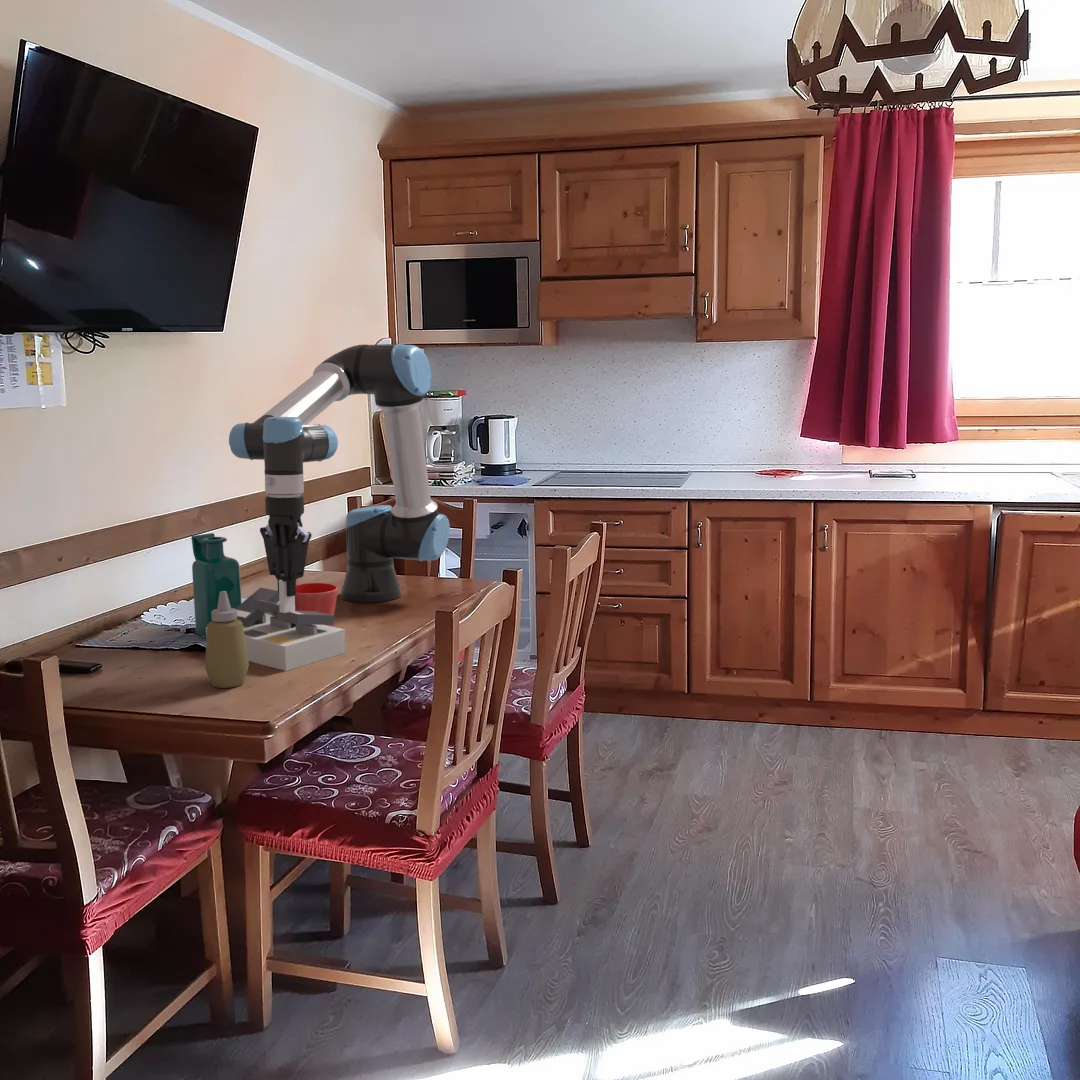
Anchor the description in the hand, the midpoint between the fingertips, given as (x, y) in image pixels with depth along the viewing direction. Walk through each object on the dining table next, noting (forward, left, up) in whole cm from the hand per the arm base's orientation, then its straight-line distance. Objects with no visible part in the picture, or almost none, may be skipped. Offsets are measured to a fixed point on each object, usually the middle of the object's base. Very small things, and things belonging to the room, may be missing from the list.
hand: (287, 611), depth 214 cm
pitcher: (-5, -30, -11) cm, 32 cm away
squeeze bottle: (+17, +2, -11) cm, 20 cm away
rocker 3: (-5, 0, -2) cm, 5 cm away
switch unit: (-3, -8, -11) cm, 14 cm away
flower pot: (-20, -15, -11) cm, 27 cm away
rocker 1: (-5, -16, -2) cm, 17 cm away
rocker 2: (-5, -8, -2) cm, 10 cm away
